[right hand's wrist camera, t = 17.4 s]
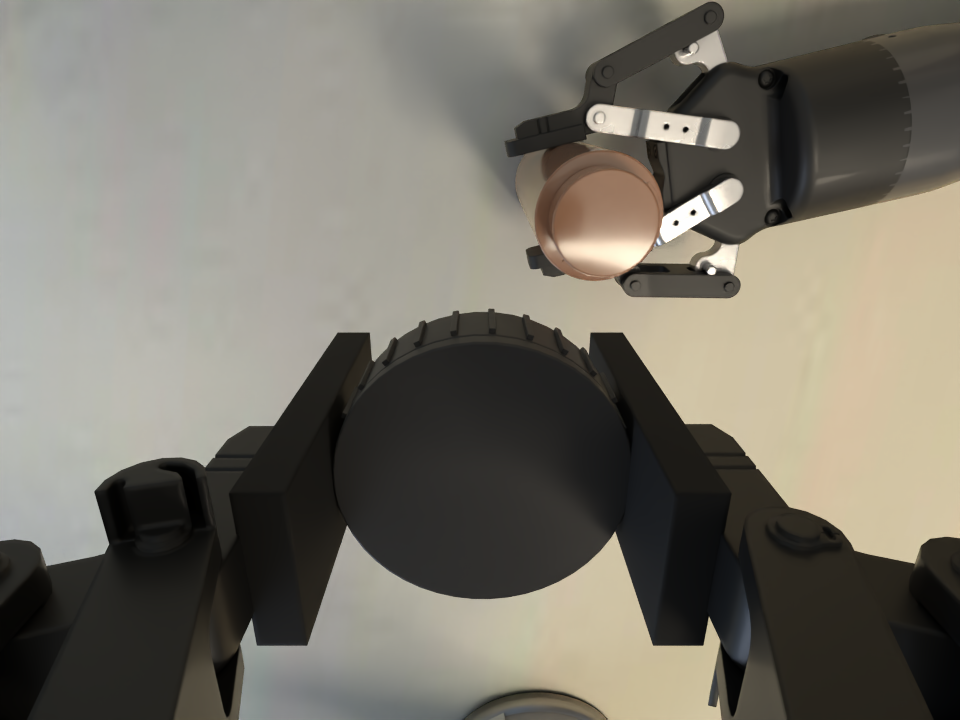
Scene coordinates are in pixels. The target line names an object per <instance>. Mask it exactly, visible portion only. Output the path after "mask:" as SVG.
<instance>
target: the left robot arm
mask: <svg viewBox="0 0 960 720" xmlns="http://www.w3.org/2000/svg"><path fill="white" fill-rule="evenodd" d="M723 20H724V11H723V9H722V7H721V5H719V4H718V3H716V2H708V3H705V4H703V5H702V6H700V7H698V8H696V9H694V10H692V11H690V12H688V13H686V14H684V15H682V16H680V17H678V18H677V19H675V20H673V21H671V22H669V23H667V24H665V25H664V26H662V27H660V28H658V29H656V30H654V31H653V32H651V33H649V34H647V35H645V36H643V37H641V38H640V39H638V40H636V41H634V42H632V43H630V44H628V45H627V46H625V47H623V48H621V49H619V50H617V51H615V52H614V53H612V54H610V55H608V56H606V57H604V58H603V59H601V60H599V61H597V62H595V63H593V64H592V65H591V66H589V68H588V69H587V72H586V85H585V91H584V96H583V99H582V101H581V103H580V104H579V105H578V106H577V107H575V108H574V109H571V110H568V111H563V112H559V113H555V114H551V115H547V116H543V117H539V118H535V119H531V120H527V121H523V122H522V123H520V124H519V125H518V126H516V127H515V128H514V130H515V135H516V138H515V139H511V140H507V141H504V142H505V147H506V152H507V156H508V157H514V156H519V155H523V154H527V153H531V152H535V151H540V150H544V149H548V148H552V147H556V146H560V145H564V144H568V143H573V142H577V141H581V140H585V139H586V135H587V134H591V133H595V132H600V133H607V134H615V135H622V136H629V137H637V138H644V139H649V141H646V146H647V155H648V159H649V161H650V164H651V166H652V169H653V172H654V174H653V176H654V178H655V180H656V182H657V183H658V186H659V189H660V191H661V195H662V199H663V221H662V226H661V230H660V234H659V238H658V239H657V241H656V243H655V245H654V247H655V246H660V245H663V244H665V243H667V242H668V241H670V240H672V239H673V238H675V237H677V236H678V235H680V234H682V233H683V232H685V231H687V230H688V229H691V230H693V231H696V232H698V233H700V234H702V235H704V236H707V237H709V238H711V239H713V240H715V243H714V245H713V247H712V248H711V249H710V250H708V251H706V252H701V253H698V254H696V255H694V256H693V257H692V259H691V261H690V264H651V263H639V264H638V265H636V266H635V267H634V268H632V269H631V270H629V271H628V272H626V273H624V274H622V275H620V276H617V277H614V278H615V280H616V282H617V283H618V284H619V285H621V287H622V288H623V290H624V291H625V293H626V294H627V295H629V296H631V297H678V298H731V297H733V296H735V295H736V294H737V293H738V292H739V290H740V281H739V279H738V278H737V277H736V276H734V271H735V265H736V260H737V254H738V249H739V244H741V243H743V242H745V241H747V240H748V239H749V238H751V237H752V236H753V235H754V234H756V233H757V232H759V231H761V230H763V229H765V228H768V227H773V226H778V225H783V224H787V223H792V222H796V221H801V220H805V219H810V218H814V217H819V216H823V215H828V214H832V213H837V212H841V211H846V210H850V209H855V208H859V207H864V206H868V205H872V204H877V203H882V202H886V201H891V200H895V199H900V198H904V197H909V196H913V195H917V194H921V193H925V192H929V191H932V190H935V189H938V188H941V187H944V186H947V185H949V184H952V183H955V182H958V181H960V22H958V23H948V24H937V25H929V26H922V27H916V28H912V29H907V30H903V31H899V32H894V33H890V34H882V35H874V36H871V37H868V38H865V39H863V40H861V41H858V42H854V43H850V44H846V45H841V46H837V47H833V48H829V49H825V50H821V51H817V52H813V53H809V54H805V55H801V56H797V57H793V58H789V59H784V60H780V61H776V62H772V63H768V64H764V65H760V66H756V67H749V66H744V65H741V64H739V63H735V62H728V60H727V57H726V54H725V50H724V47H723V44H722V41H721V37H720V34H719V31H718V29H719V28H720V26H721V25H722V23H723ZM668 56H669V57H670V60H671V61H672V63H673V64H675V65H677V66H685V65H689V64H694V65H697V66H698V67H699V68H700V69H701V71H702V73H701V74H700V75H699V76H698V77H697V78H696V80H695V81H694V82H693V83H692V84H691V85H690V86H689V87H688V88H687V89H686V90H685V92H684V93H683V94H682V95H681V96H680V97H679V98H678V99H677V100H676V101H675V102H674V104H673V105H672V106H671V107H670V108H669V109H668V110H667V111H666V112H661V111H654V110H646V109H635V108H628V107H621V106H614V105H613V101H614V96H615V91H616V86H617V83H619V82H621V81H622V80H624V79H626V78H628V77H630V76H632V75H634V74H636V73H638V72H639V71H641V70H643V69H645V68H647V67H649V66H651V65H653V64H655V63H656V62H658V61H660V60H662V59H664V58H666V57H668ZM674 222H675V223H674ZM526 254H527V259H528V263H529V266H530V269H539V268H541V270H542V273H543V275H545V276H551V277H556V276H560V275H564V274H565V273H563V272H562V271H560V270H559V269H557V268H556V267H555V266H554V265H553V264H552V263H551V262H550V261H549V260H548V259H547V258H546V256H545V254H544V253H543V251H542V250H541V247H540V245H538V246H534V247H530V248H528V249H526Z"/></svg>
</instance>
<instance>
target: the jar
mask: <svg viewBox="0 0 960 720" xmlns="http://www.w3.org/2000/svg"><path fill="white" fill-rule="evenodd" d="M515 187H516V193H517V196H518V199H519V201H520V203H521V206H522V208H523V210H524V212H525V215H526V217H527V219H528V221H529V223H530V226H531V228H532V230H533V232H534V234H535V237H536V239H537V241H538V243H539V245H540V247H541V250H542V251H543V253H544V254H545V256H546V258H547V259H548V260H549V261H550V262H551V263H552V264H553V265H554V266H555V267H556V268H557V269H559V270H560V271H562V272H563V273H565V274H567V275H569V276H571V277H574V278H577V279H582V280H588V281H599V280H606V279H611V278H614V277H617V276H620V275H622V274H624V273H626V272H628V271H629V270H631V269H632V268H634V267H635V266H636V265H638V264H639V263H640V262H642V261H643V260H644V259H645V257H646V256H647V255H648V254H649V252H650V251H652V249H653V247H654V245H655V243H656V241H657V239H658V238H659V234H660V230H661V226H662V221H663V199H662V195H661V191H660V189H659V186H658V183H657V182H656V180H655V178H654V176H653V175H652V174H651V172H650V171H649V170H648V169H647V168H646V167H645V166H644V165H643V164H642V163H641V162H639V161H638V160H637V159H635V158H633V157H631V156H629V155H627V154H624V153H621V152H618V151H614V150H610V149H606V148H602V147H598V146H594V145H590V144H586V143H582V142H578V141H577V142H573V143H568V144H564V145H560V146H556V147H552V148H548V149H544V150H540V151H535V152H531V153H527V154H525V155H524V157H523V158H522V160H521V162H520V164H519V166H518V169H517V172H516V178H515Z"/></svg>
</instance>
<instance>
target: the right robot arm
mask: <svg viewBox="0 0 960 720" xmlns="http://www.w3.org/2000/svg"><path fill="white" fill-rule="evenodd" d="M589 357H590V359H591V361H592V364H593V366H594V367H595V368H596V370H597V371H598V373H599V374H600V373H602V372H603V373H604V374H605V376H606V378H607V380H608V382H609V384H610V386H611V388H612V390H613V392H614V394H615V396H616V398H617V400H618V402H616V403H615V404H616V406H617V409H618V411H619V413H620V415H621V417H622V419H623V421H624V423H625V425H626V427H627V429H626V432H627V435H628V437H629V440H630V445H631V461H630V470H629V479H628V488H627V497H626V507H625V513H624V515H623V517H622V520H621V522H620V524H619V526H618V527H617V529H616V530H615V532H616V535H617V538H618V541H619V544H620V547H621V550H622V553H623V556H624V559H625V562H626V565H627V568H628V571H629V574H630V577H631V580H632V583H633V586H634V589H635V592H636V595H637V598H638V601H639V604H640V607H641V610H642V613H643V616H644V619H645V622H646V625H647V628H648V631H649V634H650V637H651V640H652V643H653V646H703V645H704V639H705V634H706V629H707V623H708V618H709V617H710V619H711V621H712V623H713V626H714V628H715V630H716V632H717V634H718V636H719V638H720V646H719V651H718V656H717V661H716V666H715V671H714V676H713V681H712V685H711V690H710V696H709V703H708V705H709V706H713V707H716V706H717V701H718V696H719V700H720V709H721V717H722V720H960V538H952V537H942V538H934V539H930V540H928V541H927V542H926V543H924V544H923V545H921V548H920V551H919V553H918V556H917V559H916V562H915V564H913V563H908V562H903V561H898V560H893V559H888V558H883V557H878V556H873V555H869V554H864V553H861V552H857V551H854V549H853V547H852V545H851V543H850V542H849V540H848V539H847V538H846V537H845V535H844V534H843V533H842V531H840V530H839V529H838V528H836V527H835V526H833V525H832V524H831V523H829V522H828V521H826V520H824V519H822V518H820V517H818V516H815V515H813V514H811V513H809V512H806V511H802V510H798V509H794V508H790V507H788V505H787V504H786V503H785V502H784V500H783V499H782V498H781V497H780V495H779V494H778V493H777V492H776V490H775V489H774V488H773V487H772V485H771V484H770V483H769V482H768V480H767V479H766V478H765V477H764V475H763V474H762V473H761V472H760V471H759V469H756V466H755V464H754V463H753V462H752V461H751V459H750V458H749V457H748V456H746V455H745V452H744V451H743V449H742V448H741V447H740V446H739V444H738V443H737V442H736V441H735V439H734V438H733V437H731V436H730V435H728V434H726V433H725V432H723V431H722V430H720V429H718V428H717V427H715V426H714V425H712V424H684V422H683V421H682V419H681V418H680V416H679V415H678V413H677V412H676V410H675V409H674V408H673V406H672V405H671V403H670V402H669V400H668V399H667V397H666V396H665V394H664V393H663V391H662V390H661V388H660V387H659V385H658V384H657V383H656V381H655V380H654V378H653V377H652V375H651V374H650V372H649V371H648V369H647V368H646V366H645V365H644V363H643V362H642V360H641V359H640V358H639V356H638V355H637V353H636V352H635V350H634V349H633V347H632V346H631V344H630V343H629V341H628V340H627V338H626V337H625V335H624V334H623V333H591V335H590V348H589ZM371 360H372V357H371V343H370V333H337V335H336V336H335V337H334V339H333V340H332V342H331V343H330V345H329V346H328V348H327V349H326V351H325V352H324V354H323V355H322V357H321V358H320V360H319V361H318V362H317V364H316V365H315V367H314V368H313V370H312V371H311V373H310V374H309V376H308V377H307V379H306V380H305V382H304V383H303V385H302V386H301V387H300V389H299V390H298V392H297V393H296V395H295V396H294V398H293V399H292V401H291V402H290V404H289V405H288V407H287V408H286V410H285V411H284V413H283V414H282V415H281V417H280V418H279V420H278V421H277V423H276V424H275V426H249V427H247V428H245V429H244V430H242V431H241V432H239V433H237V434H236V435H234V436H233V437H231V438H229V439H228V440H227V441H226V442H225V444H224V445H223V446H222V447H221V449H220V450H219V451H218V452H217V454H216V455H215V458H213V459H212V460H211V461H210V462H209V464H208V465H207V466H206V467H204V466H202V465H201V464H200V463H198V462H197V461H195V460H191V459H186V458H161V459H156V460H151V461H147V462H142V463H139V464H136V465H134V466H131V467H129V468H126V469H123V470H121V471H119V472H118V473H116V474H114V475H113V476H111V477H109V478H108V479H106V480H105V481H104V482H103V483H102V484H101V485H100V486H99V487H98V488H97V489H96V490H95V491H94V492H95V496H96V499H97V503H98V506H99V510H100V513H101V517H102V520H103V524H104V527H105V531H106V534H107V538H108V541H109V546H108V548H107V550H106V552H105V554H102V555H98V556H95V557H90V558H85V559H80V560H75V561H70V562H65V563H60V564H55V565H50V566H46V564H45V561H44V558H43V555H42V552H41V549H40V548H39V547H38V546H36V545H35V544H34V543H32V542H31V541H23V540H15V539H14V540H6V541H0V720H238V719H239V710H240V701H241V693H242V684H243V675H244V662H243V656H242V651H241V646H240V642H241V640H242V638H243V636H244V634H245V632H246V629H247V627H248V625H249V623H250V621H251V619H252V621H253V627H254V632H255V637H256V643H257V646H307V644H308V641H309V638H310V635H311V632H312V629H313V626H314V623H315V620H316V617H317V614H318V611H319V608H320V605H321V602H322V599H323V596H324V593H325V590H326V587H327V584H328V581H329V578H330V575H331V572H332V569H333V566H334V563H335V560H336V557H337V554H338V551H339V548H340V545H341V542H342V539H343V536H344V533H345V530H346V527H347V524H346V522H345V520H344V518H343V515H342V513H341V510H340V508H339V505H338V501H337V497H336V493H335V489H334V480H333V459H334V452H335V447H336V445H335V444H336V441H337V438H338V435H339V433H340V430H341V427H342V425H343V422H344V420H345V419H344V418H341V416H342V413H343V411H344V409H345V407H346V405H347V403H348V400H349V398H350V396H351V394H352V392H353V390H354V388H355V387H358V385H359V383H360V380H361V378H362V376H363V374H364V372H365V370H366V367H367V365H368V363H369V362H370V361H371ZM465 720H607V719H606V718H605V717H604V716H603V715H602V714H601V713H600V712H599V711H597V710H596V709H595V708H593V707H592V706H590V705H588V704H586V703H584V702H582V701H580V700H577V699H574V698H571V697H568V696H564V695H559V694H553V693H521V694H515V695H510V696H506V697H503V698H499V699H496V700H494V701H491V702H489V703H487V704H485V705H483V706H481V707H480V708H478V709H476V710H475V711H474V712H472V713H471V714H470V715H469V716H468V717H466V718H465Z"/></svg>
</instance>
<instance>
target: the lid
mask: <svg viewBox="0 0 960 720" xmlns="http://www.w3.org/2000/svg"><path fill="white" fill-rule="evenodd" d="M616 402H618V400H617V398H616V396H615V394H614V392H613V390H612V388H611V386H610V384H609V382H608V380H607V378H606V376H605V374H604V373H603V372H602V373H600V374H599V373H598V371H597V370H596V368H595V367H594V366H593V364H592V361H591V359H590V357H589V355H588V353H587V351H586V350H585V349H584V348H583V347H582V348H581V349H579V348H578V347H577V346H575V345H574V344H573V343H572V342H570V341H569V340H568V339H566V338H565V337H564V336H563V335H562V333H561V330H560V329H558V328H555V329H554V330H552V329H550V328H549V327H547V326H544V325H542V324H539V323H537V322H535V321H532V320H530V318H529V316H528V315H525V314H524V315H523V317H518V316H515V315H510V314H502V313H495V312H494V309H488V312H472V313H463V314H459V311H453V315H452V316H448V317H444V318H439V319H437V320H434V321H431V322H429V323H426V322H425V320H424V321H421V322H420V323H419V326H418V328H416V329H414V330H412V331H410V332H408V333H407V334H405V335H404V336H402V337H401V338H400V339H398V340H397V339H396V338H395V337H394V338H393V339H392V340H391V341H390V343H389V346H388V348H387V349H386V350H385V351H384V352H383V353H382V354H381V355H380V356H379V357H378V359H377V360H376V361H375V362H374V361H372V360H371V361H370V362H369V363H368V365H367V367H366V370H365V372H364V374H363V376H362V378H361V380H360V383H359V385H358V387H355V388H354V390H353V392H352V394H351V396H350V398H349V400H348V403H347V405H346V407H345V409H344V411H343V413H342V416H341V418H344V419H345V420H344V422H343V425H342V427H341V430H340V433H339V435H338V438H337V441H336V444H335V445H336V447H335V452H334V459H333V480H334V489H335V493H336V497H337V501H338V505H339V508H340V510H341V513H342V515H343V518H344V520H345V522H346V524H347V525H348V527H349V529H350V531H351V532H352V534H353V536H354V537H355V538H356V539H357V541H358V542H359V543H360V545H361V546H362V547H363V548H364V549H365V550H366V551H367V552H368V553H369V554H370V555H371V556H372V557H373V558H374V559H375V560H376V561H377V562H378V563H380V564H381V565H382V566H383V567H385V568H386V569H387V570H389V571H390V572H392V573H393V574H395V575H397V576H398V577H400V578H402V579H403V580H405V581H407V582H410V583H412V584H414V585H416V586H418V587H421V588H424V589H427V590H430V591H433V592H436V593H440V594H444V595H449V596H453V597H461V598H470V599H495V598H505V597H512V596H517V595H522V594H526V593H530V592H533V591H536V590H539V589H542V588H545V587H547V586H549V585H552V584H554V583H556V582H559V581H560V580H562V579H564V578H566V577H567V576H569V575H571V574H573V573H574V572H576V571H577V570H578V569H580V568H581V567H582V566H584V565H585V564H587V563H588V562H589V561H590V560H591V559H592V558H593V557H594V556H595V555H596V554H597V553H598V552H600V550H601V549H602V548H603V547H604V546H605V544H606V543H607V542H608V541H609V540H610V538H611V537H612V535H613V534H614V532H615V530H616V529H617V527H618V526H619V524H620V522H621V520H622V517H623V515H624V513H625V507H626V497H627V488H628V479H629V470H630V461H631V445H630V440H629V437H628V435H627V432H626V429H627V427H626V425H625V423H624V421H623V419H622V417H621V415H620V413H619V411H618V409H617V406H616V404H615V403H616Z"/></svg>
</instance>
